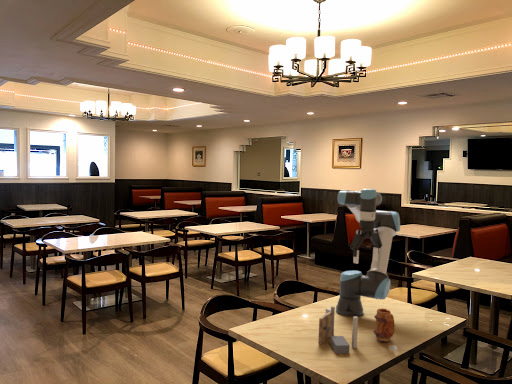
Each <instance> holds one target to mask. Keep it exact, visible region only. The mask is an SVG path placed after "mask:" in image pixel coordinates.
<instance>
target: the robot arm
mask: <svg viewBox="0 0 512 384" xmlns="http://www.w3.org/2000/svg"><path fill="white" fill-rule="evenodd" d="M337 193H338V194H337V202H338V203H337V204H339V205H341V206H342V205H343V206H344V205H345V206H347V208H348V209H349V210H350V212H351V213H352V214H353V215H354V218H355V220H356V221H357V223H358V224H359V227H360V229H355V232H354V236H353V237H352V241H351V243H350V246H349V249H350V250H352V258H353V261H352V262H353V264H356V265H357V264H359V259H360V257H359V256H360V250H359V248H360V247H361V245H362V244H363V242H364V241H365V240H366V239H369V240H370V242H371V243H372V244H373V249H372V259H371V260H372V261H371V265H370V269H369V270H368V271H366V274H365V275H364V274H363V273H362V271H360V270H345V271H343V272H341V274H340V277H339V278H340V279H339V298H338V301H337V304H336V306H335V312H336V313H337V314H339V315H341V316H345V317H355V316H356V317H360V316H363V315H364V308H363V304H362V303H363V302H362V300H361V297H364V298H369V299H375V300H386V298H387V297H388V295H389V293H390V289H391V279H390V278H389V275H388V274H387V269H388V264H389V259H390V254H391V253H390V252H391V249H392V242H393V237H395V236H396V235H397V233H398V232H400V231H401V218H400V214H399V212H397V211H392V210H378V209H376V208H377V207H378V206H380V205H381V204H382V201H383V196H382V195H381V193H379V192H378V191H377V190H376V189H374V188H362V189H361V190H360V191H357V190H340V191H338V192H337Z"/></svg>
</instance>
